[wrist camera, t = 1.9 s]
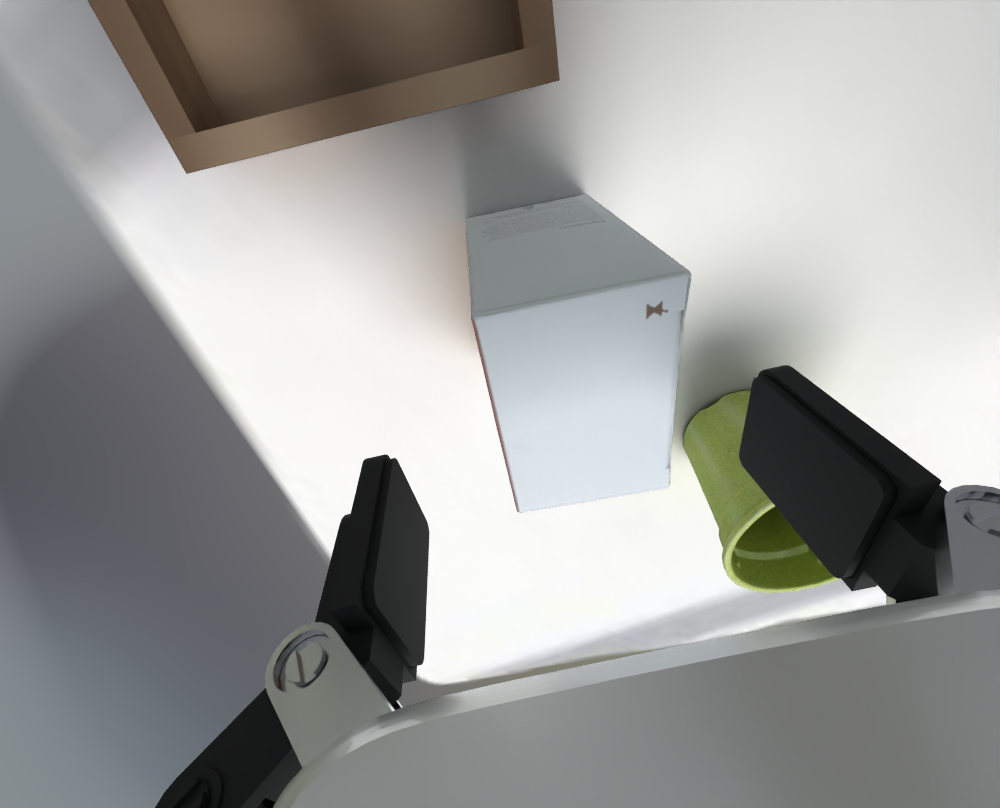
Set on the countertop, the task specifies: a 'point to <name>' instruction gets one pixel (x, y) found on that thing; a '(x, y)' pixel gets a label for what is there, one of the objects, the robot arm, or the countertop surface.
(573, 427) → the small box
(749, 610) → the countertop surface
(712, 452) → the plant pot
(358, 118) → the walnut tray
